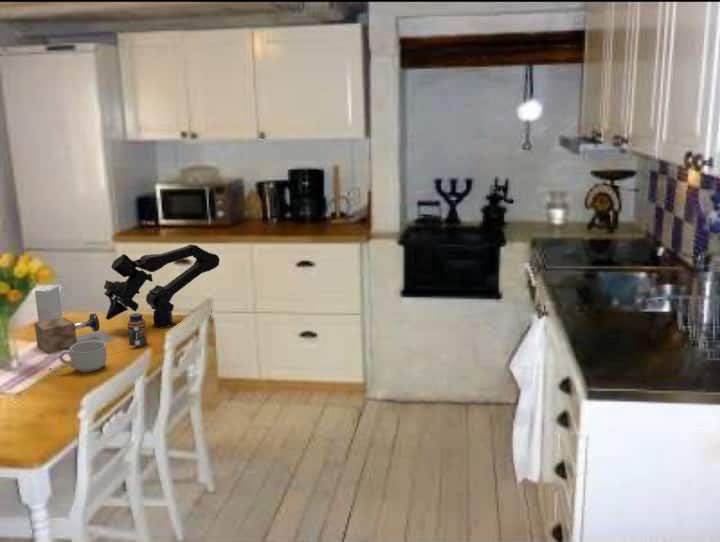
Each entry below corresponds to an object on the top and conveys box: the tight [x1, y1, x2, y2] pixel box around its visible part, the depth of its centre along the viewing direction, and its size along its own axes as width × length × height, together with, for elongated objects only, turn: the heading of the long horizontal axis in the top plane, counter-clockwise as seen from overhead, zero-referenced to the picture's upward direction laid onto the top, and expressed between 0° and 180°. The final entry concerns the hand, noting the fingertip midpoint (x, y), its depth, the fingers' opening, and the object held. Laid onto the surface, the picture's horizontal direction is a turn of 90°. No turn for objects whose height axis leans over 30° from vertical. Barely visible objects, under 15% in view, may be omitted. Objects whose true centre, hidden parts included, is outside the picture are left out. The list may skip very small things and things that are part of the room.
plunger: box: [74, 313, 100, 333], centre depth 241 cm, size 11×6×6 cm, turn 131°
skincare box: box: [34, 284, 64, 322], centre depth 267 cm, size 8×6×15 cm
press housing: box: [34, 316, 77, 355], centre depth 236 cm, size 10×11×8 cm
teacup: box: [58, 340, 107, 373], centre depth 215 cm, size 14×11×8 cm
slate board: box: [35, 330, 117, 356], centre depth 241 cm, size 23×15×1 cm, turn 131°
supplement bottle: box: [127, 312, 148, 349], centre depth 237 cm, size 6×6×11 cm
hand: (106, 319), depth 247 cm, fingers closed
